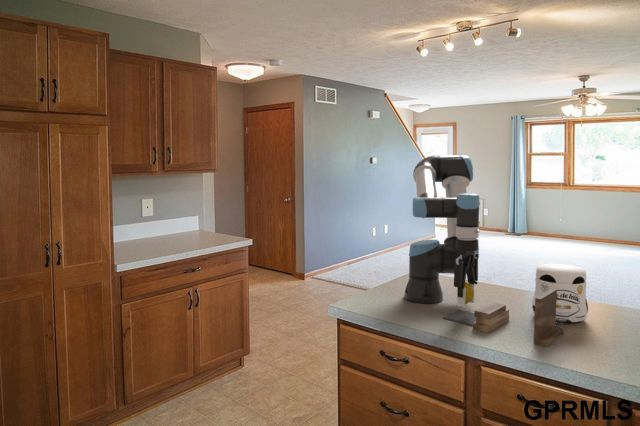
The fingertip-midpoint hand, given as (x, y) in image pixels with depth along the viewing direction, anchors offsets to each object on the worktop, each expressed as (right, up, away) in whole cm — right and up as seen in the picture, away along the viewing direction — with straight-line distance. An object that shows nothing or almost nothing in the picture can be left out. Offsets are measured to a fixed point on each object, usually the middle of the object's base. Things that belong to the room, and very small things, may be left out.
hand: (465, 303), depth 166 cm
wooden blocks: (+14, -7, -13) cm, 20 cm away
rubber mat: (0, -5, +1) cm, 5 cm away
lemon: (0, 0, 0) cm, 1 cm away
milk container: (+32, -5, -1) cm, 32 cm away
